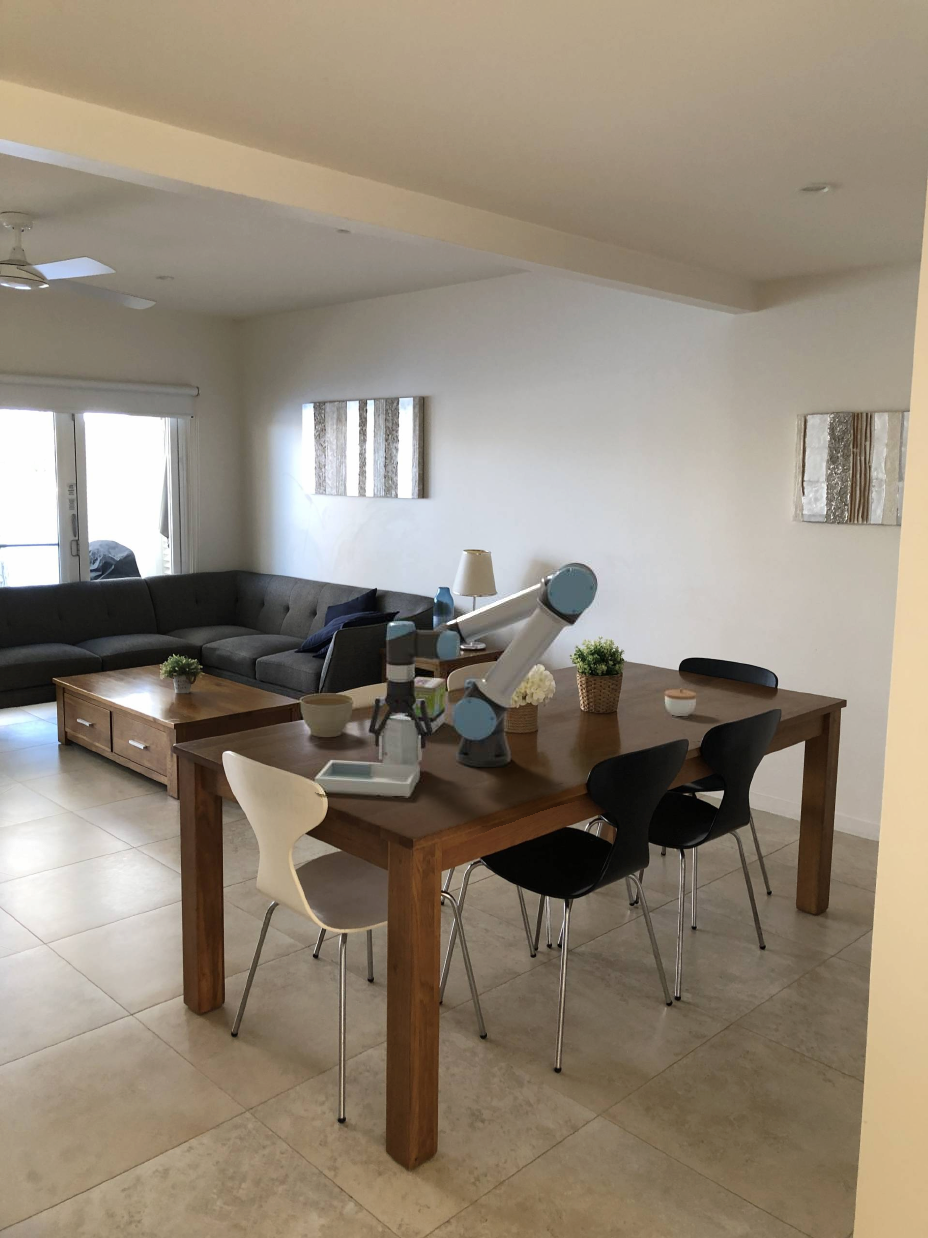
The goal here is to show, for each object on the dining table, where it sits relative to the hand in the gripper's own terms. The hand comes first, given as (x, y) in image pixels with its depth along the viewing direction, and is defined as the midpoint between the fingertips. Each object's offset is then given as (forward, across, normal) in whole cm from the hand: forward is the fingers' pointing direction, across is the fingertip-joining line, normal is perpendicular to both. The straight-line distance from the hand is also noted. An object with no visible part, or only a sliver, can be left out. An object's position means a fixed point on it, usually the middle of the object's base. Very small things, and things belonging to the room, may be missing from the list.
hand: (400, 759), depth 268 cm
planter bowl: (+2, +28, -30) cm, 41 cm away
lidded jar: (+4, -82, -79) cm, 114 cm away
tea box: (+3, 0, -45) cm, 45 cm away
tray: (+2, +6, +16) cm, 17 cm away
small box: (+2, 0, 0) cm, 2 cm away
